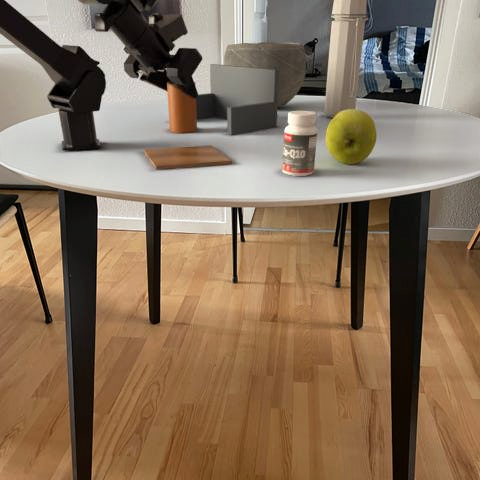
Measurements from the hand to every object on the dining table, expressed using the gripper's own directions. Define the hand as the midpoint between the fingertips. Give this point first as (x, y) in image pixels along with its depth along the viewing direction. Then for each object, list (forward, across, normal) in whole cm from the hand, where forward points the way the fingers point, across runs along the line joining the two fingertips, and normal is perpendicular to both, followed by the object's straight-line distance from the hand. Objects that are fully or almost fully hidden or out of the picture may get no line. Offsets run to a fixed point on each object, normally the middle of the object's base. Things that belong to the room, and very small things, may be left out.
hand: (187, 95), depth 100 cm
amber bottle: (+4, 0, +6) cm, 7 cm away
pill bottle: (-2, -38, +11) cm, 40 cm away
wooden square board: (-6, -19, +16) cm, 26 cm away
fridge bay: (+11, 0, -2) cm, 11 cm away
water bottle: (+30, -12, -21) cm, 39 cm away
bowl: (+29, +12, -19) cm, 36 cm away
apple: (+6, -40, +4) cm, 40 cm away
